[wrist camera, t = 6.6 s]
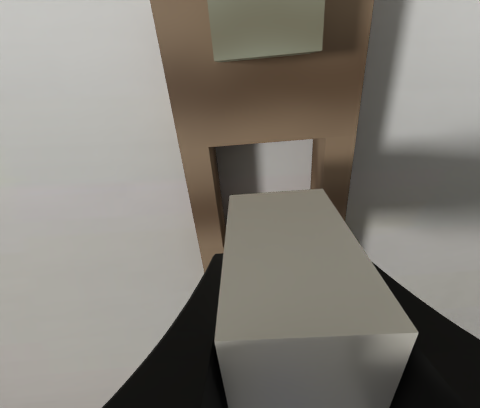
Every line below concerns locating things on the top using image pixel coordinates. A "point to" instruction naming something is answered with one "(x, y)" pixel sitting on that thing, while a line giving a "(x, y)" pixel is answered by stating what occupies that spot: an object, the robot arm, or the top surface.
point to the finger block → (304, 309)
